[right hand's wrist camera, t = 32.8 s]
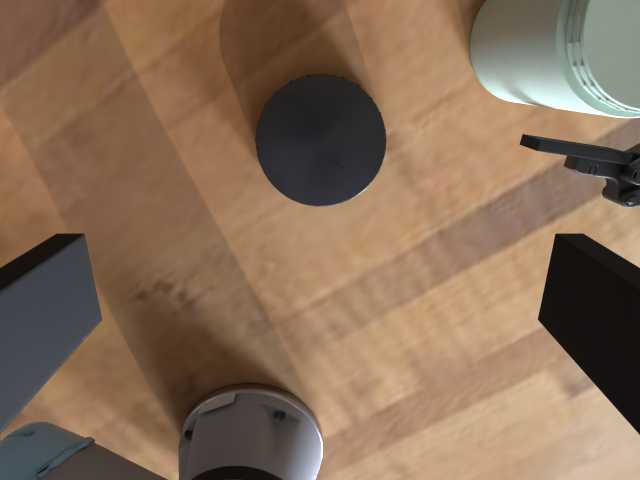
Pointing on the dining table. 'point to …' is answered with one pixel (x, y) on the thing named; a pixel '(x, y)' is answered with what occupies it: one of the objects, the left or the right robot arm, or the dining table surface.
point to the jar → (561, 54)
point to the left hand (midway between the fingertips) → (562, 36)
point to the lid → (321, 140)
